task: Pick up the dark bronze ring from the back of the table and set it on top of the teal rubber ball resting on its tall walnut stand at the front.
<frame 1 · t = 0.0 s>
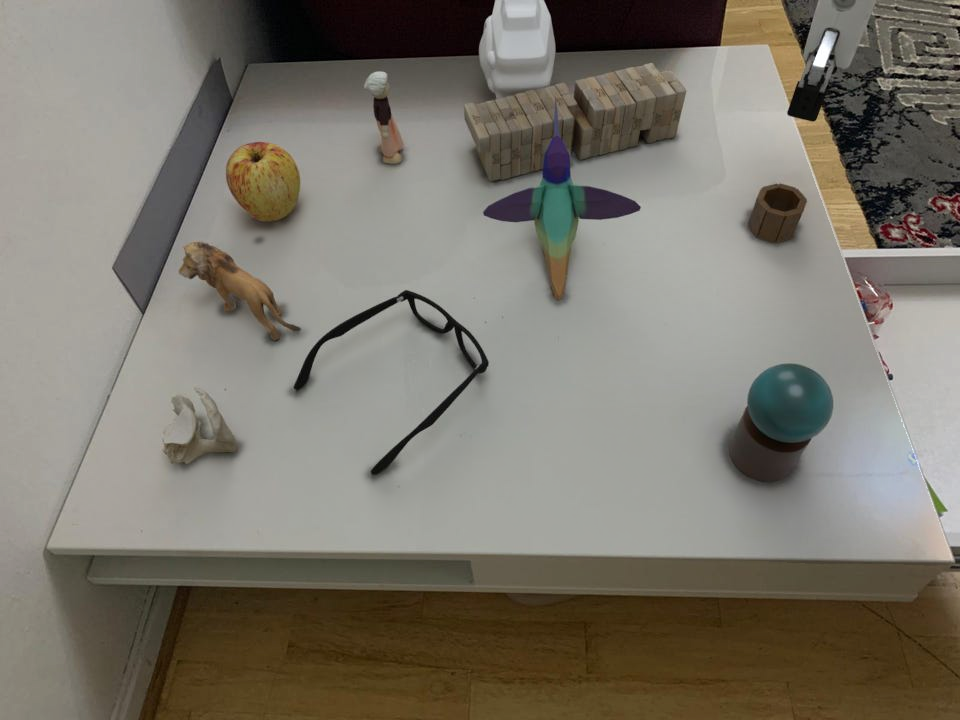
hand: (811, 93, 84), 15 cm above the table, tool pointing down, fingers open, 9 cm apart
decorative sculpture: (555, 246, 92), on the table
grandmother figurine: (391, 153, 105), on the table
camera: (517, 98, 111), on the table
bronze ring: (771, 226, 92), on the table
apple: (276, 211, 99), on the table
lion figurine: (249, 313, 88), on the table
ball stand: (761, 453, 74), on the table
block tower: (571, 146, 103), on the table
glasses: (398, 385, 81), on the table
bone: (201, 446, 78), on the table
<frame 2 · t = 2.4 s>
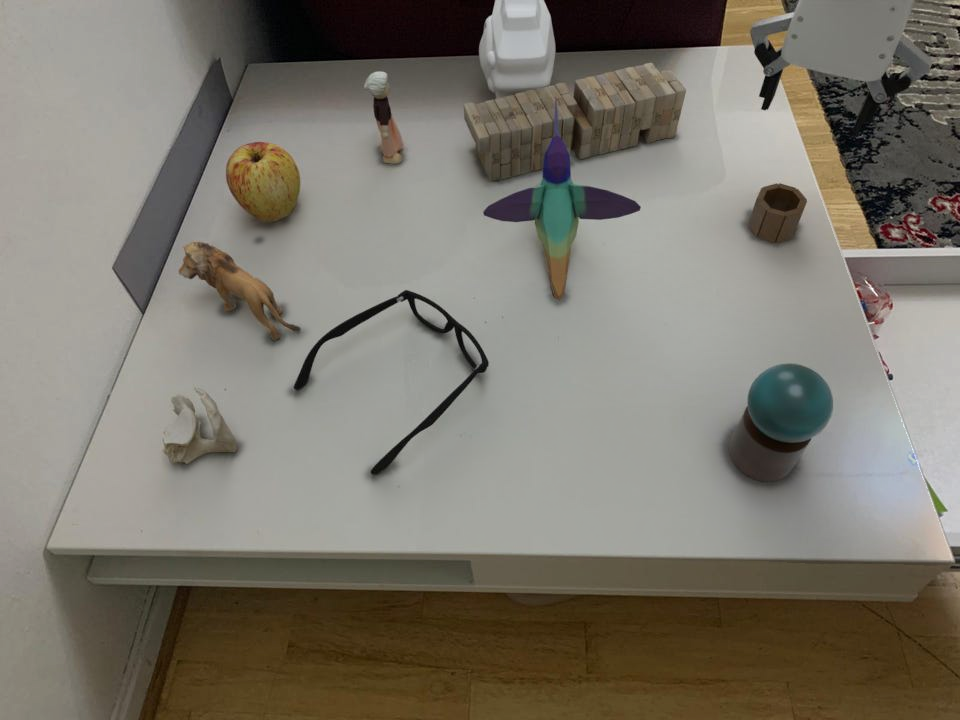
hand: (811, 114, 79), 16 cm above the table, tool pointing down, fingers open, 9 cm apart
nothing on the table moved.
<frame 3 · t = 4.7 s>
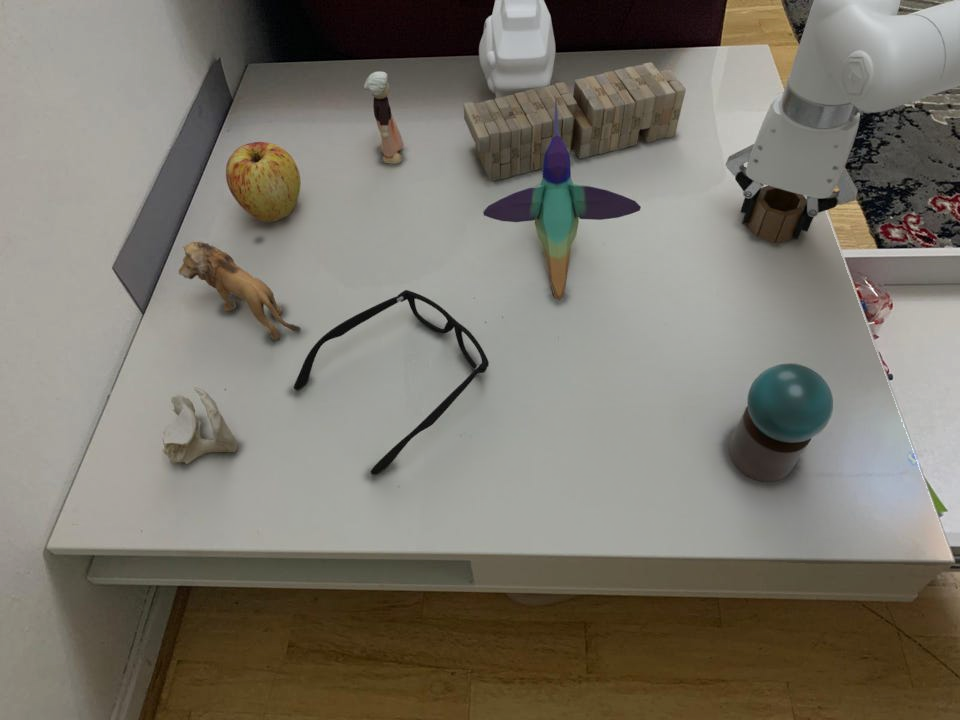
hand: (772, 223, 92), 1 cm above the table, tool pointing down, fingers closed on bronze ring, 5 cm apart
bronze ring: (771, 226, 92), on the table, touching gripper
everything else where it was.
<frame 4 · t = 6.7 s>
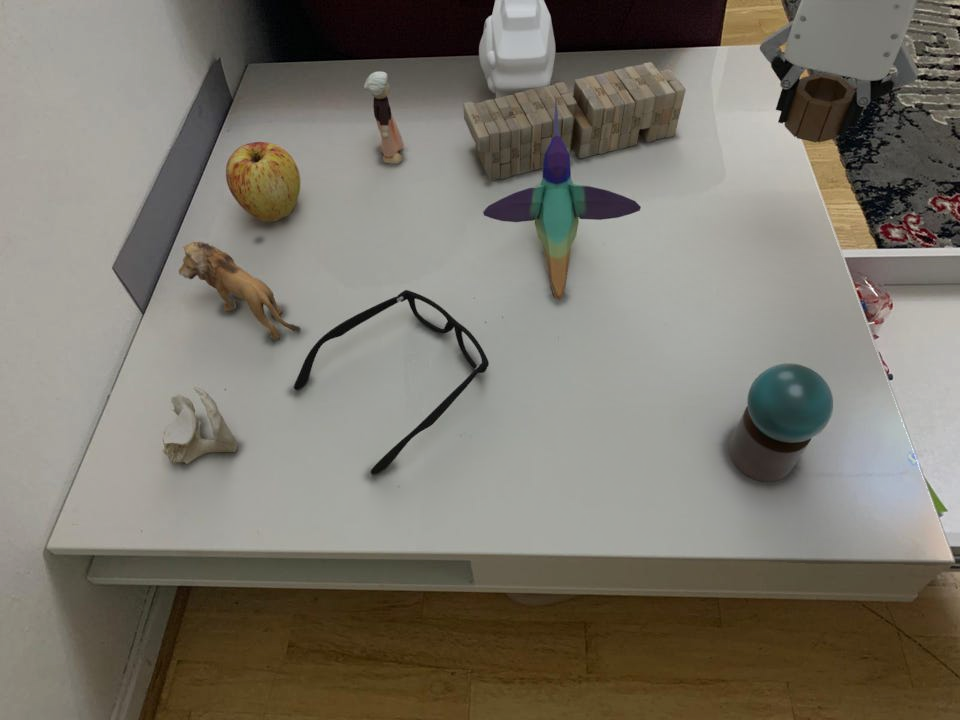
hand: (813, 121, 79), 16 cm above the table, tool pointing down, fingers closed on bronze ring, 5 cm apart
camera: (517, 98, 111), on the table, touching block tower
bronze ring: (812, 126, 79), point 15 cm above the table, touching gripper
block tower: (571, 145, 104), on the table, touching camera
everything else where it was.
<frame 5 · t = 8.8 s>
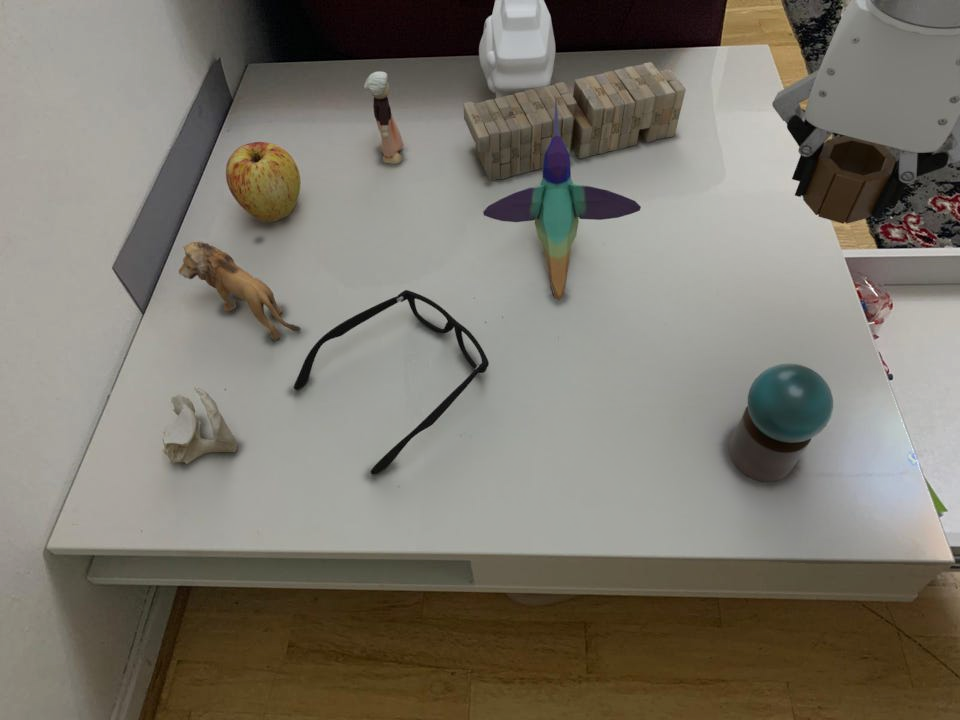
hand: (840, 195, 62), 23 cm above the table, tool pointing down, fingers closed on bronze ring, 5 cm apart
bronze ring: (838, 199, 62), point 23 cm above the table, touching gripper
everything else where it was.
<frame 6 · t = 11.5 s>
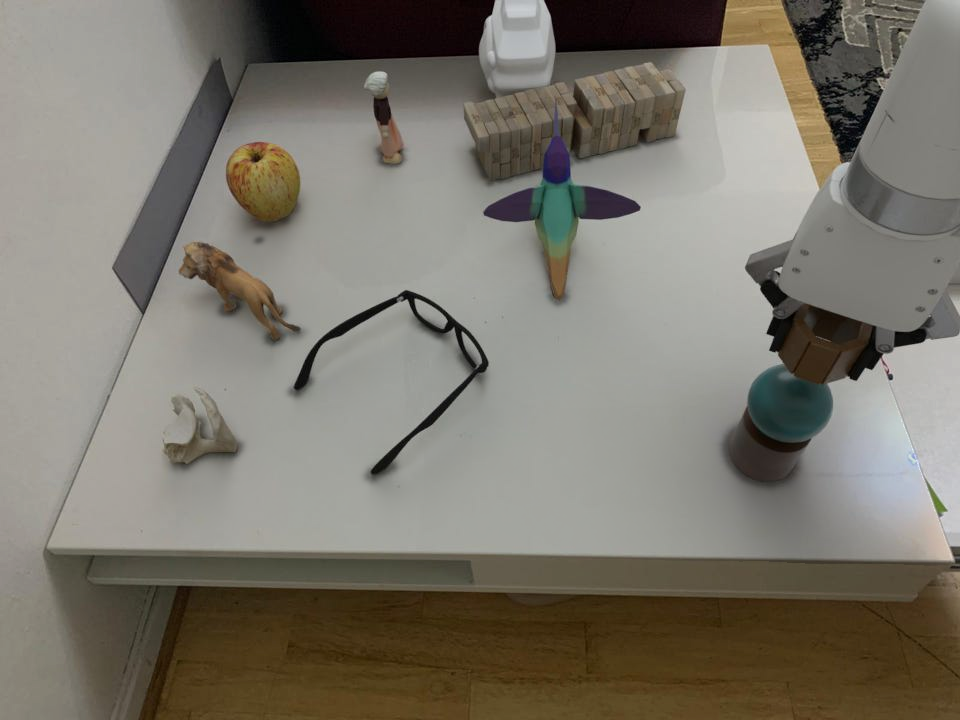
hand: (816, 351, 59), 17 cm above the table, tool pointing down, fingers closed on bronze ring, 5 cm apart
bronze ring: (814, 355, 60), point 17 cm above the table, touching gripper
everything else where it was.
when the fingers open (13 cm above the table, at t = 13.3 s): bronze ring stays where it is, resting on ball stand.
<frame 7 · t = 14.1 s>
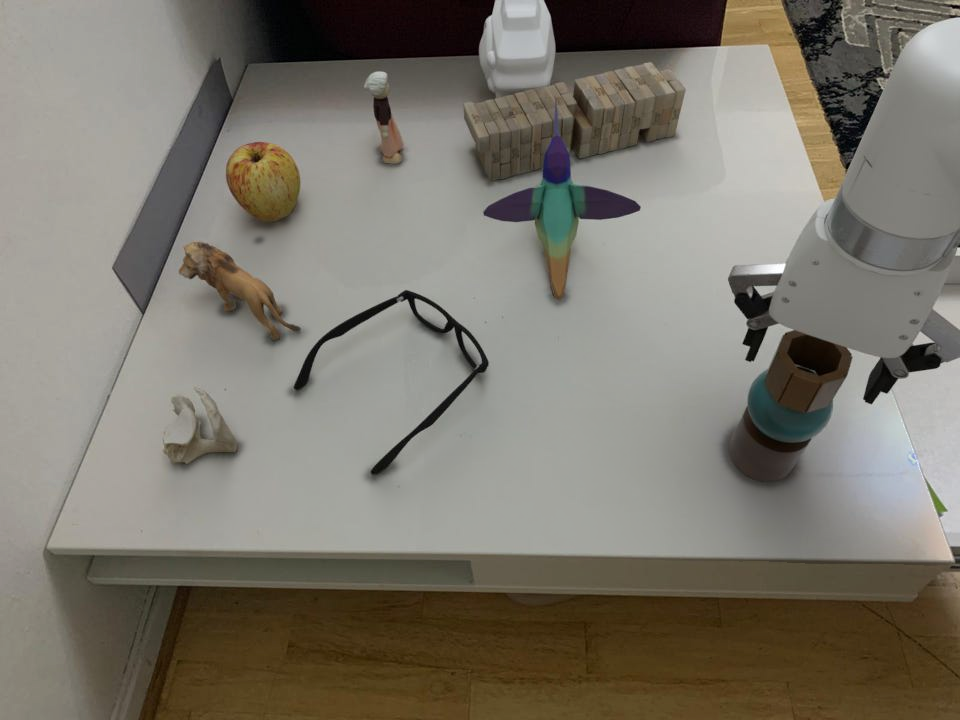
hand: (810, 369, 61), 15 cm above the table, tool pointing down, fingers open, 9 cm apart
bronze ring: (798, 384, 63), point 13 cm above the table, touching ball stand
everything else where it was.
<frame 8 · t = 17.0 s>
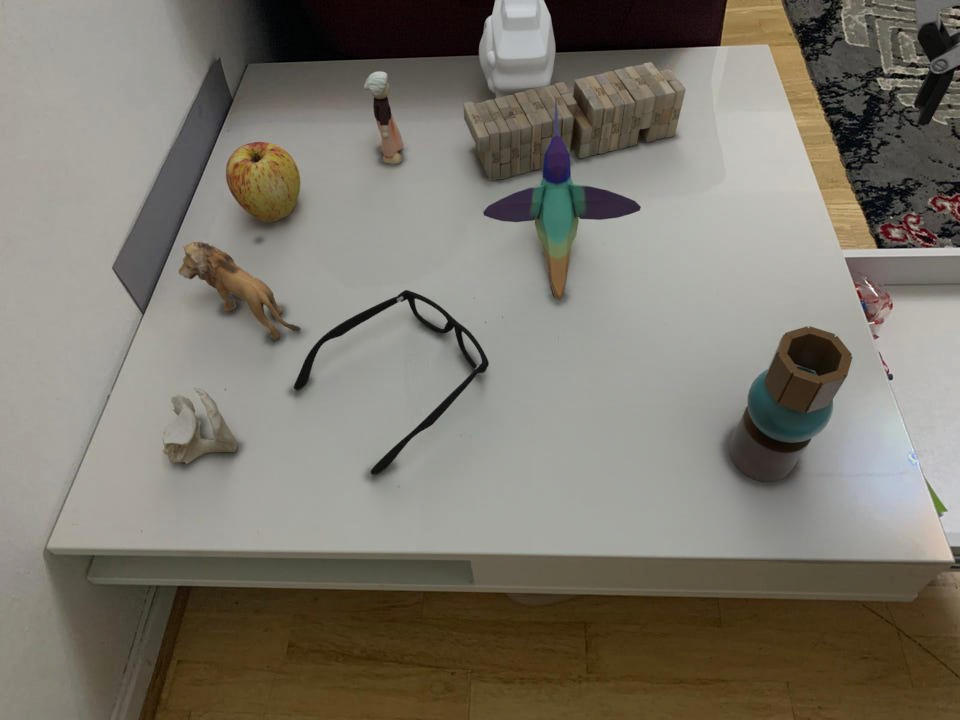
nothing on the table moved.
at the end: bronze ring 0.1 cm off-centre on the ball stand, point 12.6 cm above the ball stand's base; bronze ring tilted 1°; the gripper is holding nothing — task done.
